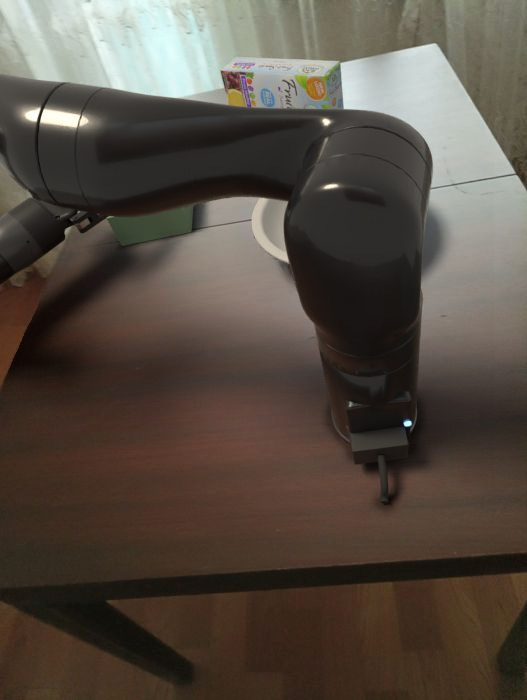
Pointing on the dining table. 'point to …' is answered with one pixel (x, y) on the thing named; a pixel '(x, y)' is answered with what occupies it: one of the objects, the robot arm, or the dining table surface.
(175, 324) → the dining table surface
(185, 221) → the bin
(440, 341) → the dining table surface
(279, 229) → the soup bowl
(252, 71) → the snack box
